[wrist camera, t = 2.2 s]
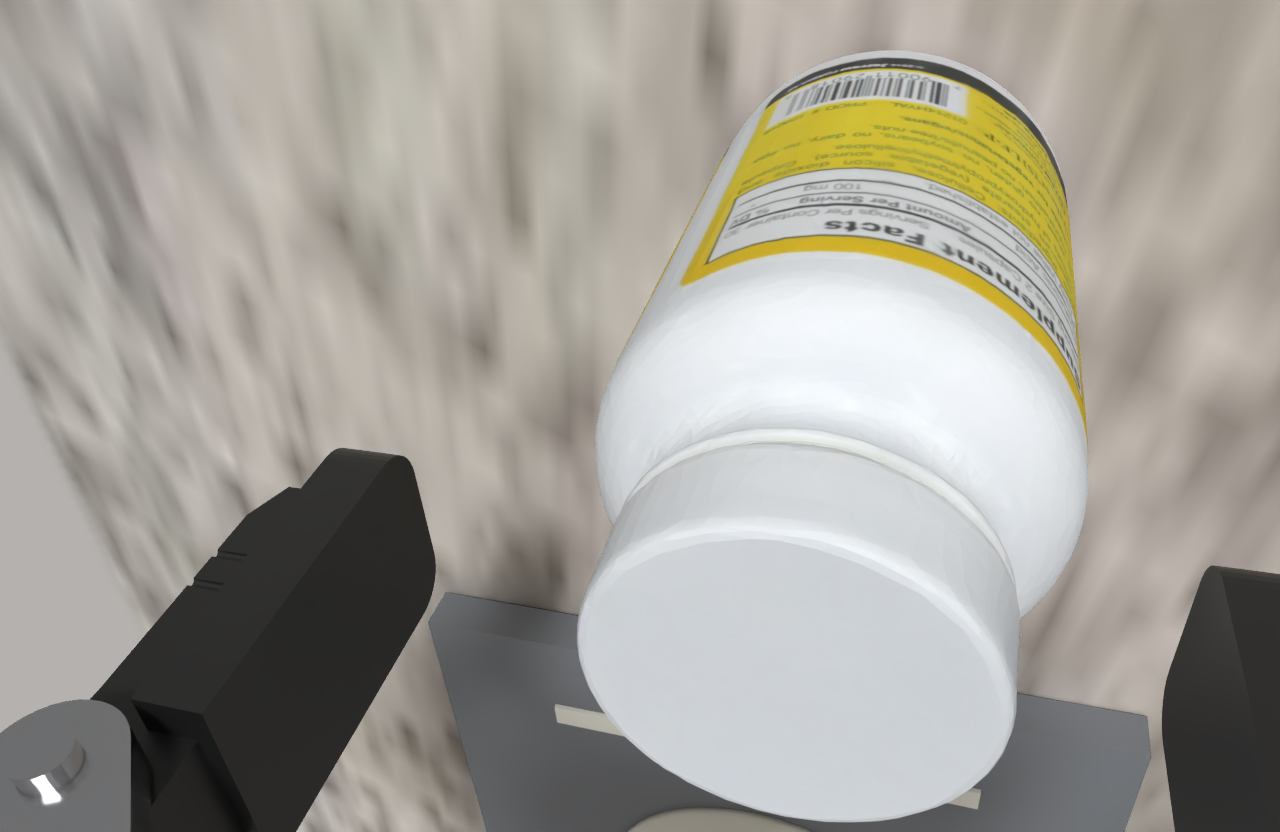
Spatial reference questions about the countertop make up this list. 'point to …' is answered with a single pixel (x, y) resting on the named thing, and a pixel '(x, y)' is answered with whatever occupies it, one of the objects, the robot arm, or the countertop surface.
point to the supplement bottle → (844, 449)
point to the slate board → (694, 818)
